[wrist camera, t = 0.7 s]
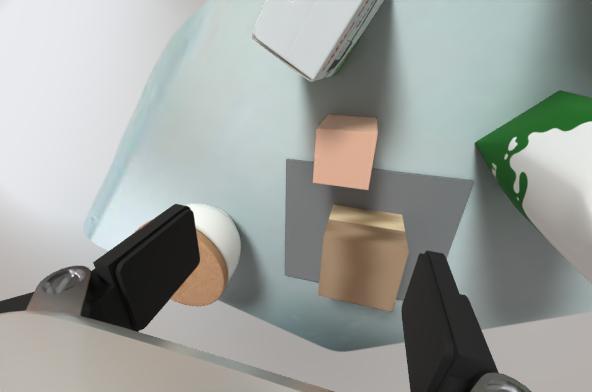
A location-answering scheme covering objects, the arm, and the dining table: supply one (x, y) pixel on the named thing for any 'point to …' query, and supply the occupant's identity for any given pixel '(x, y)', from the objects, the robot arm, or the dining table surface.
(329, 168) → the terracotta block
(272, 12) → the ink box
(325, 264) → the walnut slab
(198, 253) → the robot arm
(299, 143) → the dining table surface
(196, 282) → the lidded bowl
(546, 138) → the milk carton
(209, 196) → the dining table surface
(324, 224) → the rubber mat
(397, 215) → the oak slab
